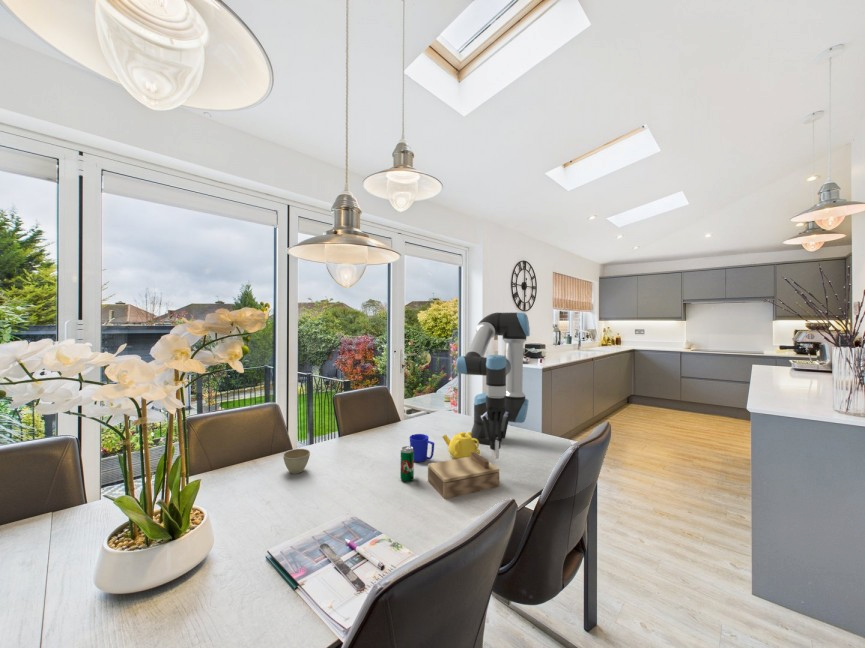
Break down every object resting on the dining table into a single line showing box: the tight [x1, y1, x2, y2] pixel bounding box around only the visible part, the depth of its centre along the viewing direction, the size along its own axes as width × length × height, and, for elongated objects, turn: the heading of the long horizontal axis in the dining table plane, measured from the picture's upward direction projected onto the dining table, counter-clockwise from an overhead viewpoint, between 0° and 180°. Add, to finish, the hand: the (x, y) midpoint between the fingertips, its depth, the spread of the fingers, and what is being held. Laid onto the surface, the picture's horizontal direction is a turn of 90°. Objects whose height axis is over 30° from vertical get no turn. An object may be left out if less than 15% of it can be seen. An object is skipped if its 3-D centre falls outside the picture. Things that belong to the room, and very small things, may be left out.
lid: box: [427, 452, 500, 483], centre depth 129 cm, size 22×14×3 cm, turn 114°
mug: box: [409, 433, 435, 463], centre depth 152 cm, size 8×12×10 cm
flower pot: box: [282, 448, 311, 475], centre depth 141 cm, size 10×10×7 cm
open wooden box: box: [427, 466, 500, 500], centre depth 129 cm, size 22×14×6 cm, turn 114°
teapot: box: [442, 431, 481, 460], centre depth 157 cm, size 14×14×11 cm
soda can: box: [399, 445, 415, 483], centre depth 134 cm, size 5×5×12 cm
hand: (495, 457), depth 135 cm, fingers closed
